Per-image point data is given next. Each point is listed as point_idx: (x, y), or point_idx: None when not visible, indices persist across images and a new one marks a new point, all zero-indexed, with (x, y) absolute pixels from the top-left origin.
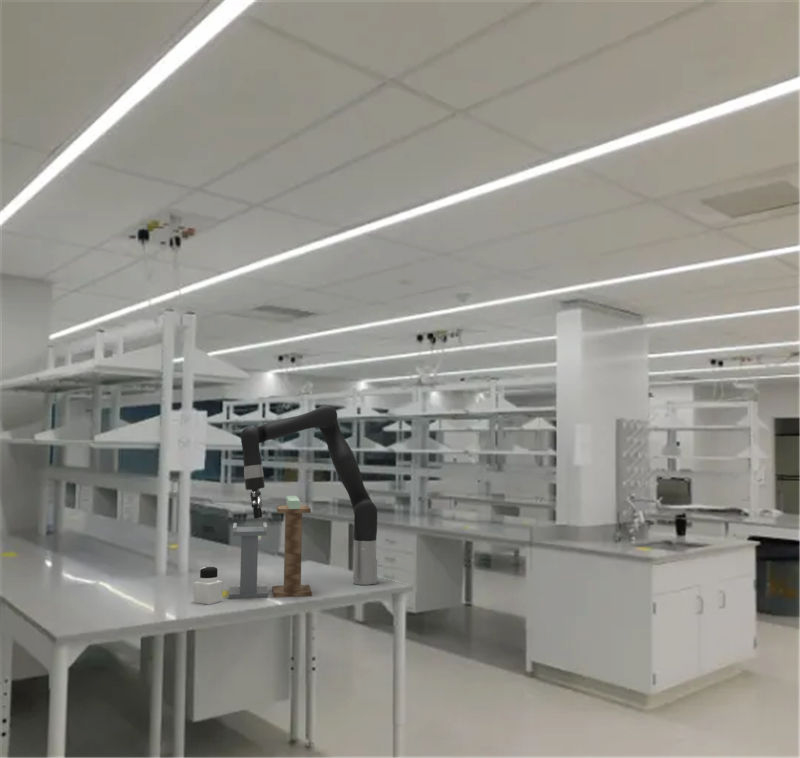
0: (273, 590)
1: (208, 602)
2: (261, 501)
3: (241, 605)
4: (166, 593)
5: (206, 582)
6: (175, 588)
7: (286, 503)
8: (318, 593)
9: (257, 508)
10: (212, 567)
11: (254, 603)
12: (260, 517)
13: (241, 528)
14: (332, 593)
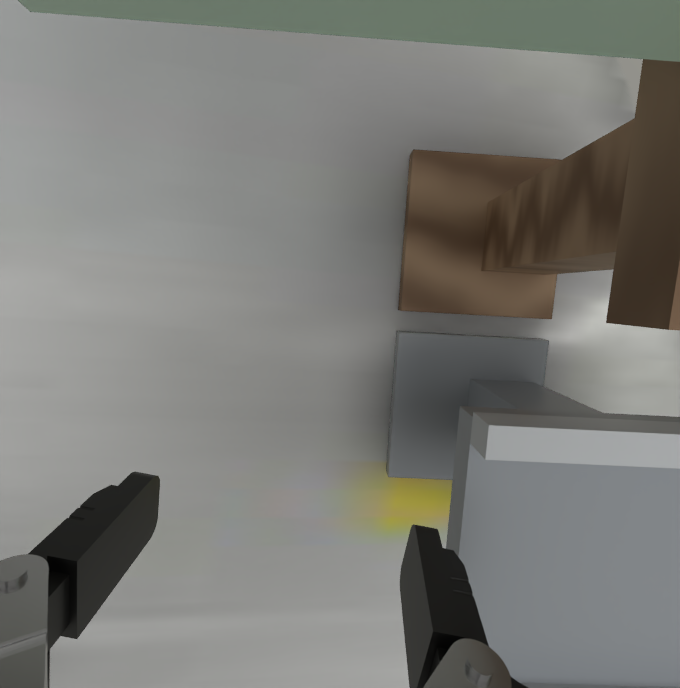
0: (499, 314)
1: None
2: (44, 679)
3: None
4: (374, 675)
5: None
6: (288, 653)
7: (322, 21)
8: (516, 129)
9: (497, 662)
10: None
11: (626, 391)
12: (159, 488)
13: (590, 644)
14: (532, 68)
